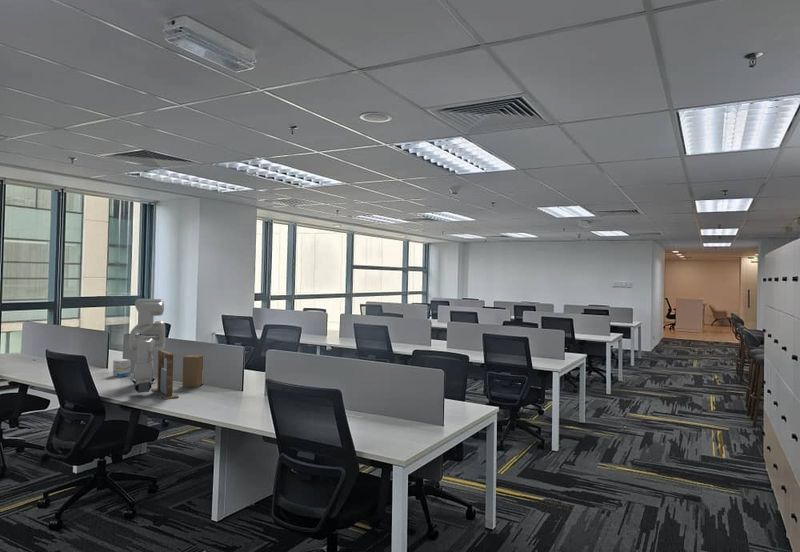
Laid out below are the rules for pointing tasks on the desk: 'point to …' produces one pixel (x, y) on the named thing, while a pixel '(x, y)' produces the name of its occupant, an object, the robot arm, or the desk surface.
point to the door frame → (169, 379)
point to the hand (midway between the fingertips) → (143, 390)
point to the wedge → (143, 387)
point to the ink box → (121, 367)
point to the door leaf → (163, 380)
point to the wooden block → (192, 370)
